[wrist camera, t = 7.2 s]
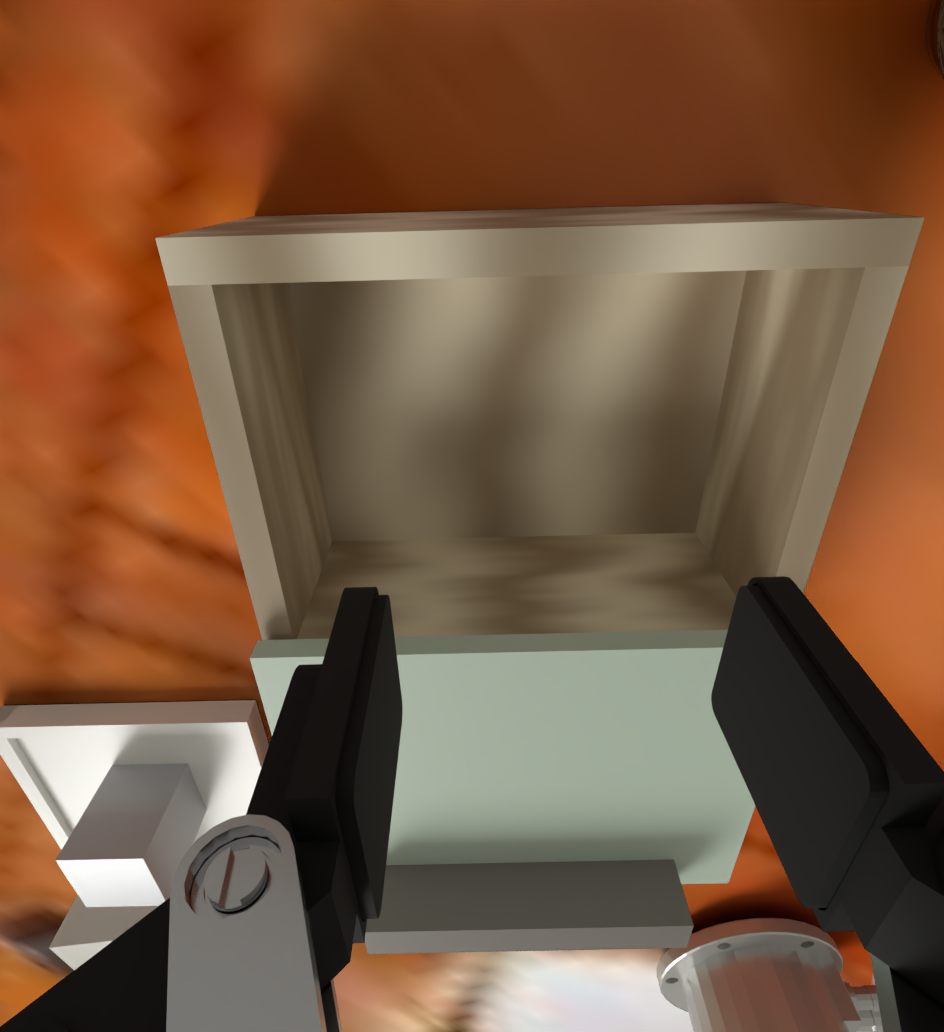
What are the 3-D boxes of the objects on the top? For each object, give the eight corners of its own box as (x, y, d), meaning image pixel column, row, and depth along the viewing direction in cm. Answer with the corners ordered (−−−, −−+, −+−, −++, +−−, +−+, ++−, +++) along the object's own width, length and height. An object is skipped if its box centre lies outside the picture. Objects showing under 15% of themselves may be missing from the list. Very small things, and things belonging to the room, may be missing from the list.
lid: (798, 627, 19) (856, 707, 16) (720, 863, 25) (752, 949, 22) (257, 640, 19) (221, 721, 16) (320, 871, 25) (302, 957, 23)
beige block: (163, 844, 35) (119, 939, 31) (192, 881, 37) (155, 975, 33) (100, 852, 35) (49, 947, 31) (132, 888, 37) (88, 983, 33)
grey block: (187, 763, 31) (142, 858, 27) (206, 810, 33) (167, 905, 29) (112, 765, 31) (55, 860, 27) (135, 811, 33) (86, 907, 29)
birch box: (780, 202, 19) (924, 217, 13) (708, 541, 26) (783, 656, 20) (253, 216, 19) (155, 238, 13) (316, 551, 26) (270, 668, 20)
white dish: (255, 700, 30) (246, 722, 29) (309, 883, 39) (304, 906, 38) (2, 705, 30) (-17, 727, 29) (111, 887, 39) (100, 910, 38)
